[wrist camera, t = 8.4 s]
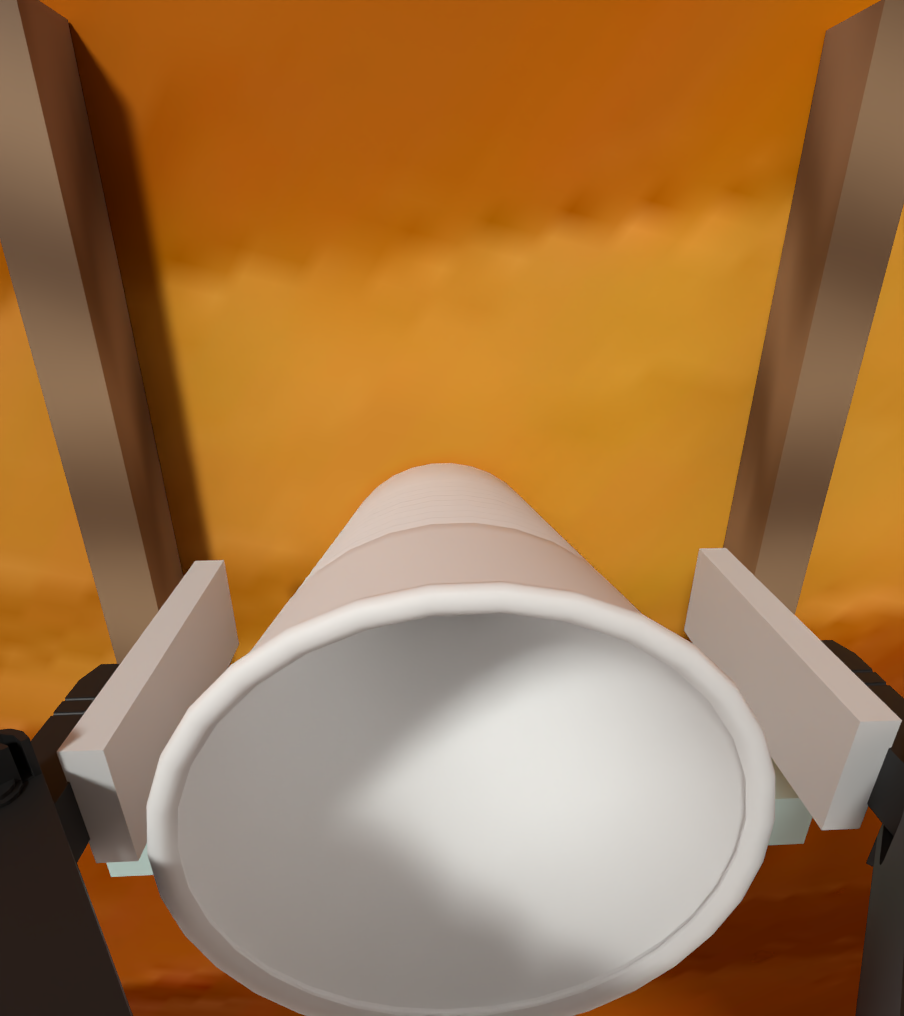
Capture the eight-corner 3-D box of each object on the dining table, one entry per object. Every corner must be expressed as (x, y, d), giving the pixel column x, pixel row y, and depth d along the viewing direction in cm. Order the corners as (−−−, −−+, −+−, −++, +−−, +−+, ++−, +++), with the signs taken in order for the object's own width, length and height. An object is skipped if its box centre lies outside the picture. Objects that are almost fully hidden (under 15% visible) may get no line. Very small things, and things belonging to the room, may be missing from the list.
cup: (500, 705, 22) (569, 1082, 12) (245, 608, 20) (67, 969, 10) (650, 483, 19) (916, 742, 9) (366, 338, 17) (285, 462, 7)
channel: (-5, 18, 14) (-71, -18, 12) (889, 31, 14) (957, -1, 13) (175, 748, 22) (153, 792, 20) (727, 726, 23) (754, 767, 21)
